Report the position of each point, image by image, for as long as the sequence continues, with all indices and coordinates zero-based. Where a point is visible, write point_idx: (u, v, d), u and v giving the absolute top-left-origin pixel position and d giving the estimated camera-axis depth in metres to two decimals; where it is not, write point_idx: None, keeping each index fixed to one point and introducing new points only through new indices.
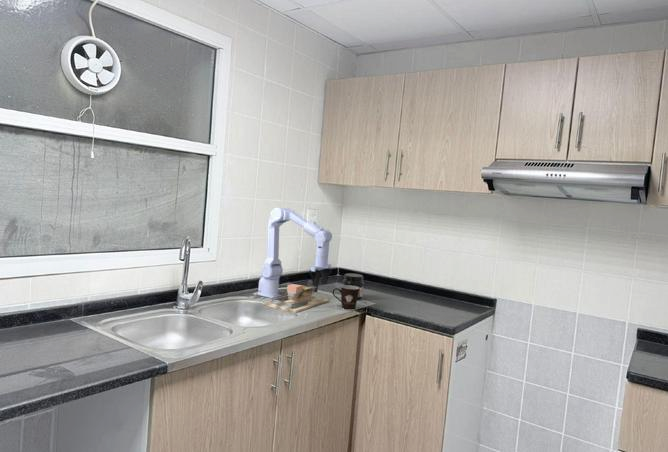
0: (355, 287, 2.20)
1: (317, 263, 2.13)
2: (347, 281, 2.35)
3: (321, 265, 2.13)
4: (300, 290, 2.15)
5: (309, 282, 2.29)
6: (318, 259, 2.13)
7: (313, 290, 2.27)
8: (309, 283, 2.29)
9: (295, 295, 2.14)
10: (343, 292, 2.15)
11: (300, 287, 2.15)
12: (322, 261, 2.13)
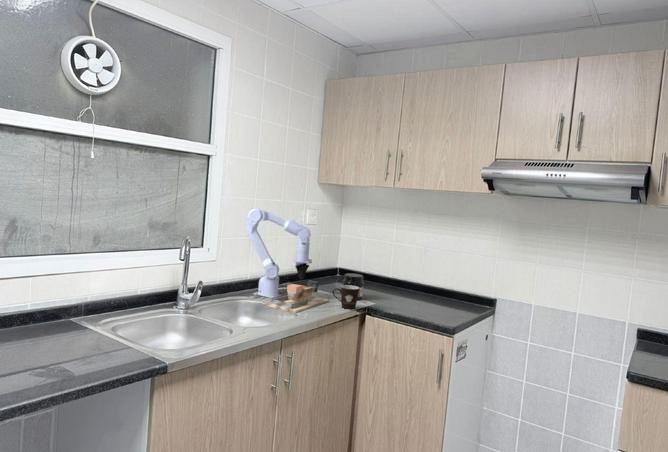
0: (355, 287, 2.20)
1: (298, 258, 2.28)
2: (347, 281, 2.35)
3: (302, 260, 2.27)
4: (300, 290, 2.15)
5: (309, 282, 2.29)
6: (299, 254, 2.27)
7: (313, 290, 2.27)
8: (309, 283, 2.29)
9: (295, 295, 2.14)
10: (343, 292, 2.15)
11: (300, 287, 2.15)
12: (303, 256, 2.27)
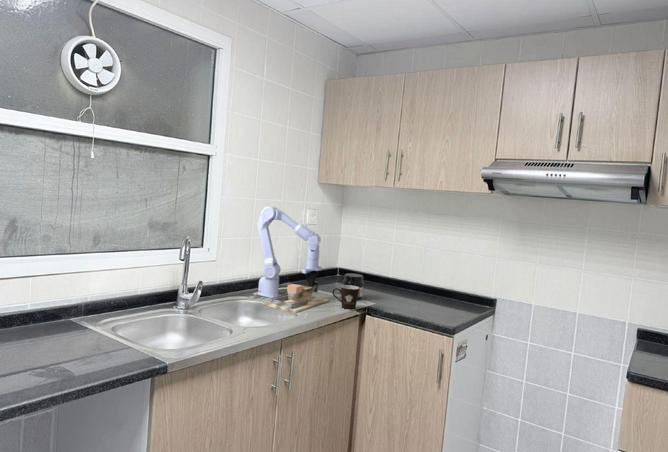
0: (355, 287, 2.20)
1: (308, 265, 2.25)
2: (347, 281, 2.35)
3: (312, 267, 2.24)
4: (300, 290, 2.16)
5: None
6: (309, 262, 2.24)
7: (313, 290, 2.27)
8: None
9: (295, 295, 2.14)
10: (343, 292, 2.15)
11: (300, 287, 2.15)
12: (313, 264, 2.24)
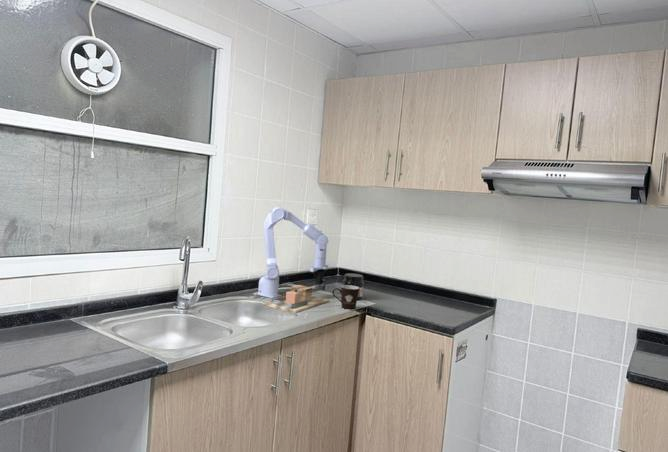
0: (355, 287, 2.20)
1: (316, 264, 2.31)
2: (347, 281, 2.35)
3: (319, 266, 2.30)
4: (297, 296, 2.14)
5: None
6: (316, 260, 2.30)
7: (320, 288, 2.33)
8: None
9: None
10: (343, 292, 2.15)
11: (295, 297, 2.12)
12: (320, 262, 2.30)
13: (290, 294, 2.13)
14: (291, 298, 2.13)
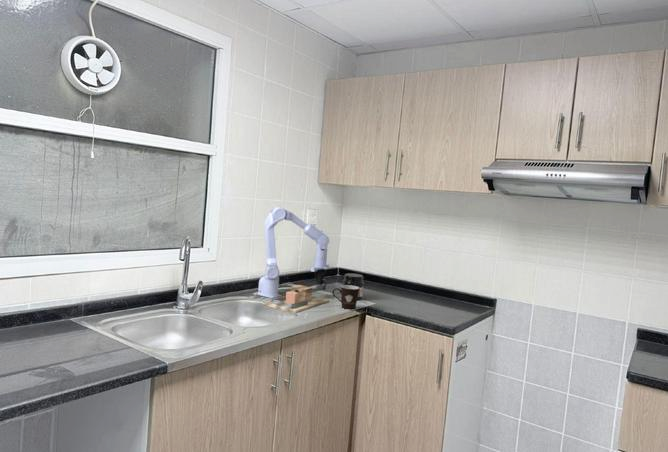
0: (355, 287, 2.20)
1: (316, 264, 2.31)
2: (347, 281, 2.35)
3: (320, 266, 2.31)
4: (297, 296, 2.14)
5: None
6: (317, 260, 2.31)
7: (321, 288, 2.34)
8: None
9: None
10: (343, 292, 2.15)
11: (295, 297, 2.12)
12: (321, 262, 2.31)
13: (290, 294, 2.13)
14: (291, 298, 2.13)
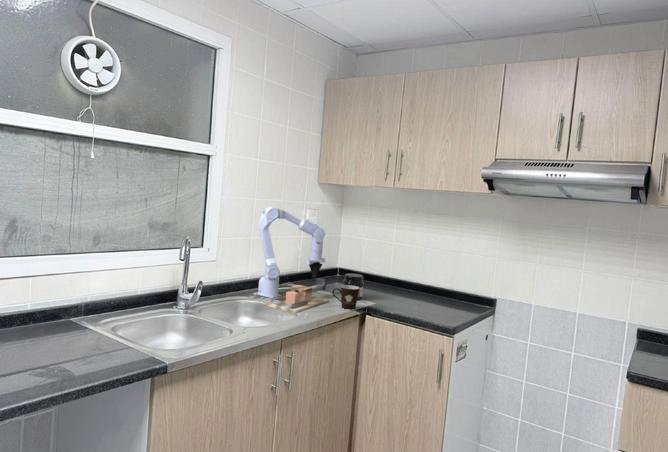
0: (355, 287, 2.20)
1: (312, 257, 2.32)
2: (347, 281, 2.35)
3: (315, 259, 2.31)
4: (297, 296, 2.14)
5: (317, 280, 2.36)
6: (313, 253, 2.32)
7: (321, 288, 2.34)
8: (317, 281, 2.36)
9: None
10: (343, 292, 2.15)
11: (295, 297, 2.12)
12: (316, 255, 2.31)
13: (290, 294, 2.13)
14: (291, 298, 2.13)
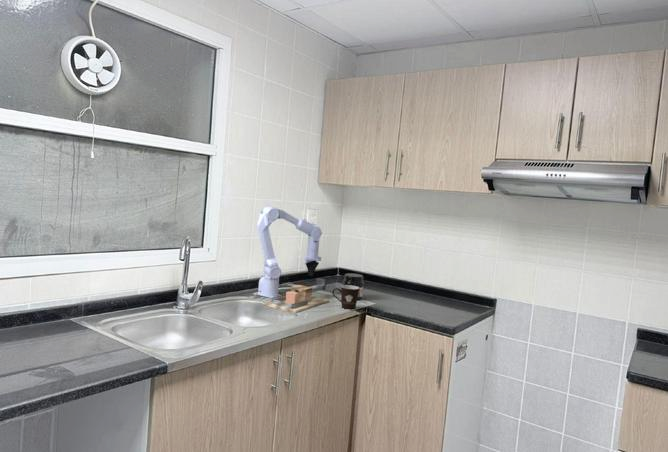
0: (355, 287, 2.20)
1: (308, 256, 2.35)
2: (347, 281, 2.35)
3: (312, 257, 2.35)
4: (297, 296, 2.14)
5: (317, 280, 2.36)
6: (309, 252, 2.35)
7: (321, 288, 2.34)
8: (317, 281, 2.36)
9: None
10: (343, 292, 2.15)
11: (295, 297, 2.12)
12: (313, 254, 2.35)
13: (290, 294, 2.13)
14: (291, 298, 2.13)
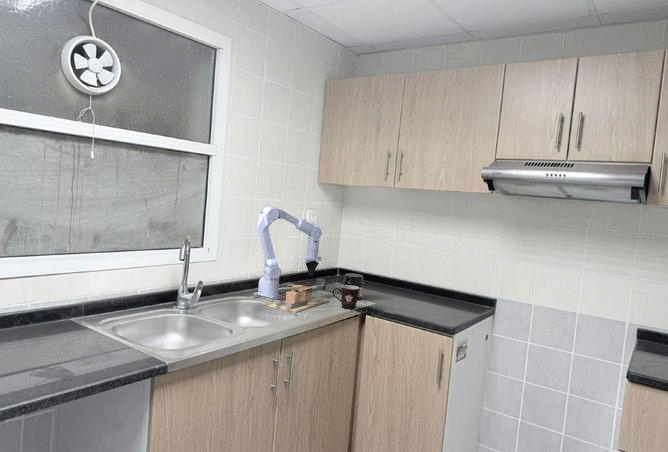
0: (355, 287, 2.20)
1: (308, 256, 2.35)
2: (347, 281, 2.35)
3: (312, 257, 2.35)
4: (297, 296, 2.14)
5: (317, 280, 2.36)
6: (309, 252, 2.35)
7: (321, 288, 2.34)
8: (317, 281, 2.36)
9: None
10: (343, 292, 2.15)
11: (295, 297, 2.12)
12: (313, 254, 2.35)
13: (290, 294, 2.13)
14: (291, 298, 2.13)
